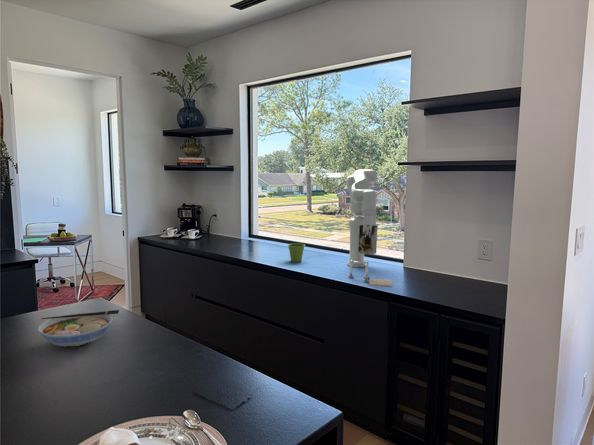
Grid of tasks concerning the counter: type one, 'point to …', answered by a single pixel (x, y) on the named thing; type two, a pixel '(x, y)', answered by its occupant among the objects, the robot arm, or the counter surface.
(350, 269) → the white arch piece
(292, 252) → the plant pot
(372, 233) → the coffee box
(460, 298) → the counter surface
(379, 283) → the tile
